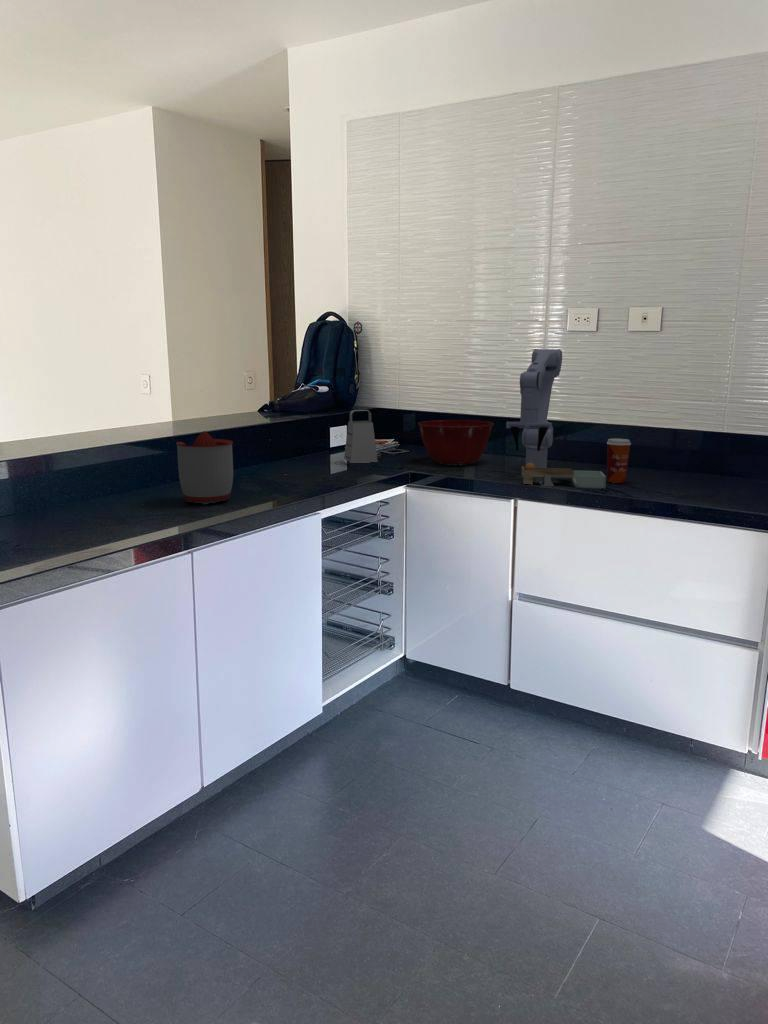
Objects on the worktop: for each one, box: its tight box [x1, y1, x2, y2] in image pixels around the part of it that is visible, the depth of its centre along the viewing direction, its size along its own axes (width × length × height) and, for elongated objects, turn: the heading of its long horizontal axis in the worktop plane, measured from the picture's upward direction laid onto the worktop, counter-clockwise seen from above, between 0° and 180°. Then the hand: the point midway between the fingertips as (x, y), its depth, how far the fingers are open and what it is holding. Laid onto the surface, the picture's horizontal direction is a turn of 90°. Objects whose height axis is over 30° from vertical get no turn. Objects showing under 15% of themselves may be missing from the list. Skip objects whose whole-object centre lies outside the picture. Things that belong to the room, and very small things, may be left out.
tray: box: [571, 469, 607, 490], centre depth 238 cm, size 11×9×4 cm
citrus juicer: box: [175, 431, 234, 502], centre depth 211 cm, size 16×17×20 cm
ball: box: [524, 463, 535, 470], centre depth 240 cm, size 3×3×3 cm
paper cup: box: [606, 438, 632, 484], centre depth 243 cm, size 8×8×14 cm
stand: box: [538, 474, 555, 487], centre depth 240 cm, size 8×4×4 cm, turn 173°
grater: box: [343, 409, 379, 463], centre depth 279 cm, size 10×10×20 cm
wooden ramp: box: [520, 465, 574, 486], centre depth 243 cm, size 13×16×5 cm
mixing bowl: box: [417, 419, 495, 466], centre depth 281 cm, size 28×28×16 cm
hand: (527, 450), depth 246 cm, fingers open, 6 cm apart
